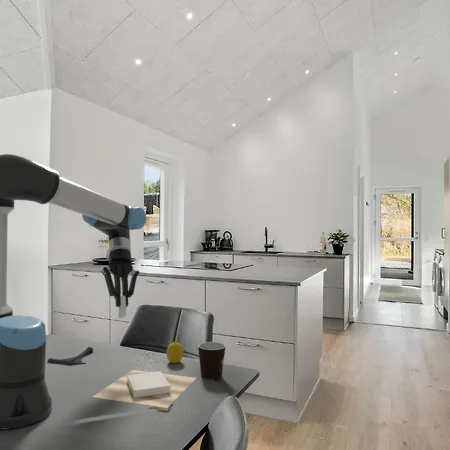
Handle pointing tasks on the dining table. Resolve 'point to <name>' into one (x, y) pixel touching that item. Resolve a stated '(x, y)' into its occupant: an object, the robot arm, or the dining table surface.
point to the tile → (148, 384)
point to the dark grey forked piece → (72, 360)
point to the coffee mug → (211, 359)
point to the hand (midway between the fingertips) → (122, 316)
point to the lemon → (174, 352)
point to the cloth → (161, 401)
